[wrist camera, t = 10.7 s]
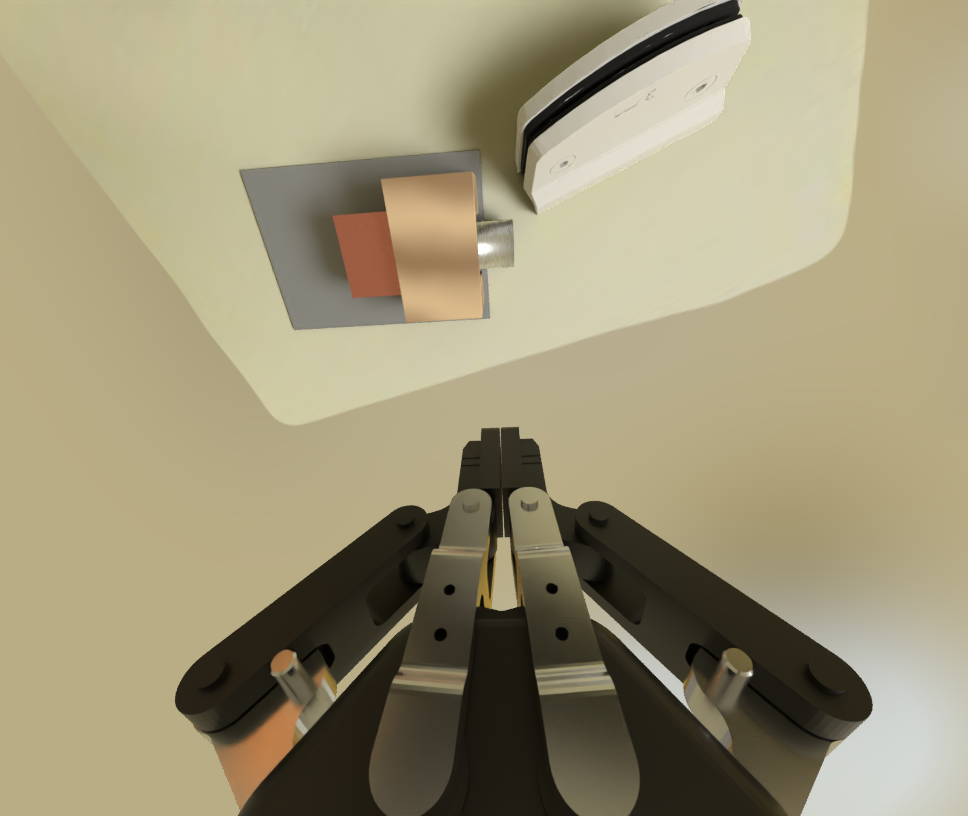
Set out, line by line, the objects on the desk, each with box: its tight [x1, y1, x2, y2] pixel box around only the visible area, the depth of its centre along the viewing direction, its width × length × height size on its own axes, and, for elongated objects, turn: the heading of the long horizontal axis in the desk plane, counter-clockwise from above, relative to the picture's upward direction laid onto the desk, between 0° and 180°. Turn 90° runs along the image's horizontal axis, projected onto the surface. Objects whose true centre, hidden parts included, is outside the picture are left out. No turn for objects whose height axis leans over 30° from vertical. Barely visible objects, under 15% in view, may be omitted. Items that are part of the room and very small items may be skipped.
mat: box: [240, 150, 490, 330], centre depth 36 cm, size 15×22×1 cm
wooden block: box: [381, 171, 484, 323], centre depth 33 cm, size 11×7×6 cm, turn 4°
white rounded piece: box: [515, 0, 751, 215], centre depth 27 cm, size 17×5×10 cm, turn 116°
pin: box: [333, 211, 514, 298], centre depth 34 cm, size 15×7×5 cm, turn 94°
